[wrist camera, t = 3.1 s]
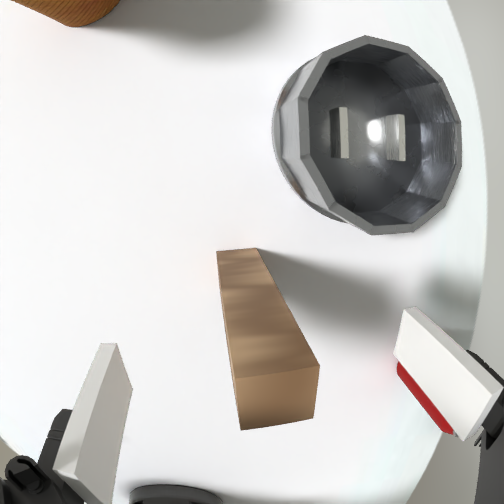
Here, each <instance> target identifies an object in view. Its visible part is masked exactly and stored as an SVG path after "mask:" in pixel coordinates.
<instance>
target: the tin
mask: <svg viewBox="0 0 504 504" xmlns="http://www.w3.org/2000/svg"><path fill="white" fill-rule="evenodd" d="M272 140H273V147H274V152H275V156H276V159H277V162H278V165H279V167H280V170H281V172H282V174H283V175H284V177H285V179H286V181H287V182H288V184H289V185H290V187H291V188H292V190H293V191H294V192H295V193H296V194H297V195H298V196H299V198H300V199H301V200H303V201H304V202H305V203H306V204H307V205H308V206H310V207H311V208H313V209H314V210H316V211H317V212H319V213H321V214H323V215H325V216H327V217H329V218H331V219H334V220H337V221H340V222H344V223H349V224H351V225H353V226H355V227H357V228H358V229H360V230H362V231H364V232H366V233H368V234H370V235H383V234H395V233H408V232H414V231H415V230H417V229H418V228H419V227H420V226H422V225H423V224H424V223H425V222H427V221H428V220H429V219H430V218H432V217H433V216H434V215H435V214H436V213H438V212H439V211H440V210H441V209H443V208H444V207H445V205H446V203H447V201H448V198H449V196H450V194H451V191H452V189H453V187H454V184H455V182H456V180H457V177H458V175H459V172H460V170H461V167H462V137H461V120H460V118H459V115H458V113H457V110H456V108H455V105H454V103H453V101H452V98H451V96H450V94H449V91H448V89H447V87H446V85H445V83H444V81H443V78H442V77H441V76H440V75H439V74H438V73H437V72H436V71H435V70H434V69H433V68H432V67H430V66H429V65H428V64H427V63H426V62H425V61H424V60H423V59H422V58H421V57H420V56H419V55H418V54H416V53H415V52H414V51H413V50H412V49H411V48H410V47H408V46H405V45H401V44H398V43H394V42H391V41H387V40H383V39H379V38H375V37H370V36H366V35H364V36H362V37H359V38H356V39H354V40H351V41H349V42H346V43H344V44H341V45H339V46H336V47H334V48H331V49H329V50H327V51H324V52H322V53H321V54H320V55H318V56H317V57H315V58H313V59H312V60H310V61H308V62H306V63H305V64H304V65H303V66H301V67H300V68H299V69H298V70H296V71H295V72H294V73H293V75H292V76H291V77H290V78H289V79H288V80H287V82H286V83H285V85H284V86H283V88H282V90H281V92H280V94H279V96H278V98H277V101H276V104H275V108H274V112H273V118H272Z"/></svg>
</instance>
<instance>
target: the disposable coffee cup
mask: <svg viewBox="0 0 504 504" xmlns="http://www.w3.org/2000/svg"><path fill="white" fill-rule="evenodd" d="M11 1H15V2H16V3H20V4H21V5H24V6H25V7H28V8H30V9H32V10H35V11H37V12H39V13H41V14H43V15H46V16H48V17H50V18H52V19H54V20H56V21H58V22H60V23H62V24H64V25H66V26H69V27H80V26H84V25H88V24H90V23H93V22H95V21H97V20H99V19H100V18H102V17H104V16H105V15H106V14H108V13H109V12H110V11H111V10H112V9H113V8H114V7H115V6H116V5H117V4H118V3H119V1H120V0H11Z"/></svg>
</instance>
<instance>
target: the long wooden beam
mask: <svg viewBox="0 0 504 504" xmlns="http://www.w3.org/2000/svg"><path fill="white" fill-rule="evenodd" d="M216 252H217V264H218V275H219V286H220V294H221V302H222V310H223V317H224V325H225V332H226V339H227V346H228V353H229V360H230V367H231V373H232V380H233V386H234V393H235V399H236V405H237V411H238V417H239V423H240V429H241V430H248V429H256V428H263V427H269V426H275V425H281V424H287V423H292V422H297V421H302V420H307V419H312V418H313V416H314V409H315V401H316V394H317V386H318V377H319V369H320V365H319V363H318V361H317V359H316V358H315V356H314V354H313V352H312V350H311V348H310V346H309V345H308V343H307V341H306V339H305V337H304V335H303V333H302V332H301V330H300V328H299V326H298V324H297V322H296V321H295V319H294V317H293V315H292V313H291V311H290V309H289V308H288V306H287V304H286V302H285V300H284V298H283V297H282V295H281V293H280V291H279V289H278V287H277V286H276V284H275V282H274V280H273V278H272V276H271V275H270V273H269V271H268V269H267V267H266V265H265V264H264V262H263V260H262V258H261V256H260V254H259V253H258V251H257V249H256V248H249V249H238V250H226V251H216Z"/></svg>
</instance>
